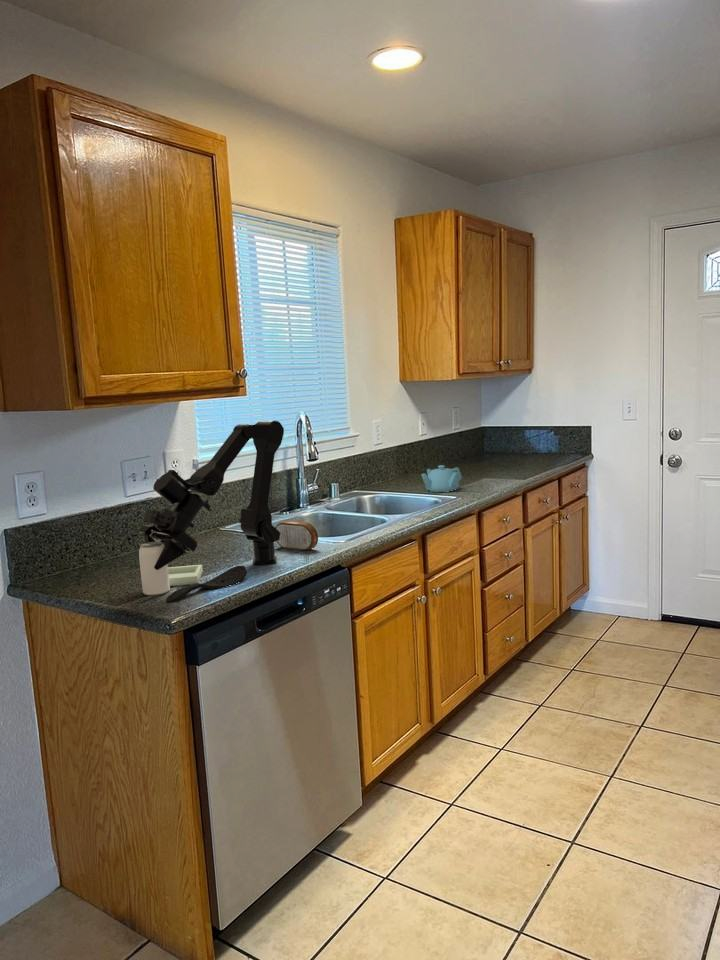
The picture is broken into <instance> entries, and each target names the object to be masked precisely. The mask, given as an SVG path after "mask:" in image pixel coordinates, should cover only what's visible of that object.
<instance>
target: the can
mask: <svg viewBox="0 0 720 960" xmlns="http://www.w3.org/2000/svg"><path fill="white" fill-rule="evenodd" d="M139 547H140V548H139V551H138V557H139V559H138V560H139V561H138V562H139V568H140V579H141V586H142V587H141V588H142V593H143V594H144V595H145V596H152V597H153V596H161V595H163V594H164V595H165V594H167V593H169V591H170V588H171V586H170V585H169V574H168V567H169V566H168V565H169V563H168V564H166V565H165V566H163V567H162V568H160V569H159V570H156V569H155V568H154V566H155V564H156V562H157V560H158V558H159V556H160V555H161V553H162V551H163V549H164V543H163V542H149V543H142V544H140V545H139Z"/></svg>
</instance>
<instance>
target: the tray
mask: <svg viewBox="0 0 720 960" xmlns="http://www.w3.org/2000/svg"><path fill="white" fill-rule="evenodd" d="M203 569H204V568H203V564H195V565H183V566H181V565H180V566H171V567H169V566H168V574H169V585H170V587H176V586H189V585H192V584H195V583H200V580H201V577H202V575H203V571H204V570H203Z"/></svg>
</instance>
